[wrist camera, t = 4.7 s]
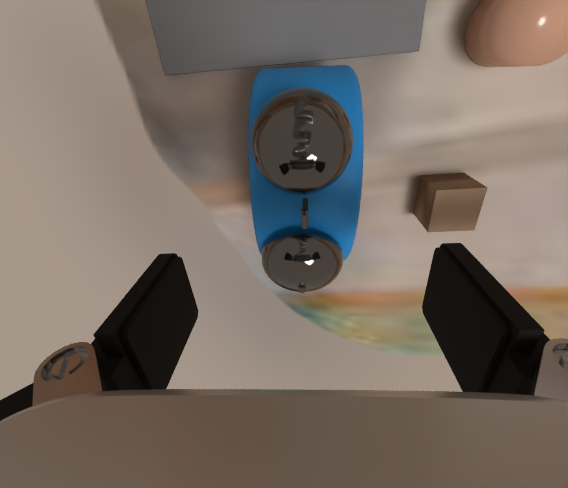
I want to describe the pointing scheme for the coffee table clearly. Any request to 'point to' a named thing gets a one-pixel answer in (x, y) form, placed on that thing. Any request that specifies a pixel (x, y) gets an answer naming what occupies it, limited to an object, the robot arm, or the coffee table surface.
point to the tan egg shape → (517, 32)
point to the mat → (279, 31)
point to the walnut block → (449, 202)
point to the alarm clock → (305, 171)
